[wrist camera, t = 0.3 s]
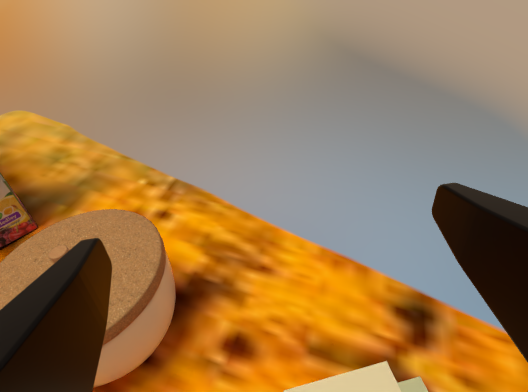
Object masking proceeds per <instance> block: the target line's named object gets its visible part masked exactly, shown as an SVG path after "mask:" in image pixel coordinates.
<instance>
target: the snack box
mask: <svg viewBox="0 0 528 392" xmlns="http://www.w3.org/2000/svg"><path fill="white" fill-rule="evenodd" d="M37 227H38V226H37V224H36V223H35V221H34V220H33V218H32V217H31V216H30V214H29V213H28V211H27V210H26V208H25V207H24V205H23V204H22V203H21V201H20V200H19V198H18V197H17V195H16V194H15V193H14V191H13V190H12V188H11V187H10V186H9V184H8V183H7V181H6V180H5V179H4V177H3V176H2V175H1V173H0V248H1V247H2V246H5V245H7V244H9V243H10V242H12V241H14V240H16V239H18V238H20V237H22V236H24V235H25V234H27V233H29V232H31V231H33V230H34V229H36V228H37Z"/></svg>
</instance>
